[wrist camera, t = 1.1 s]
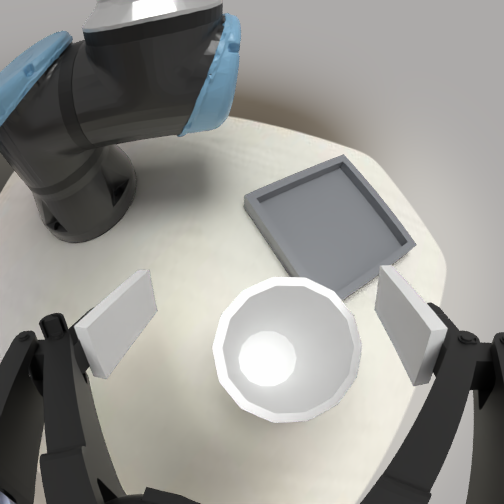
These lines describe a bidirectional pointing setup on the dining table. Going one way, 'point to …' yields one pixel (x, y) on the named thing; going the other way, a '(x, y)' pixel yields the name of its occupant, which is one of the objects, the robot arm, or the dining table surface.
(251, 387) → the foam cup
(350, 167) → the serving tray
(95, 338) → the robot arm
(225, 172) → the dining table surface
